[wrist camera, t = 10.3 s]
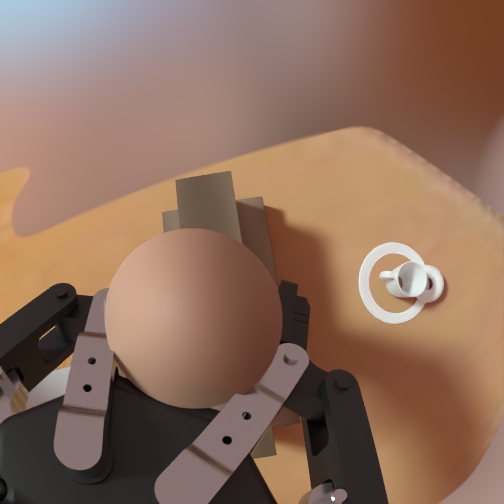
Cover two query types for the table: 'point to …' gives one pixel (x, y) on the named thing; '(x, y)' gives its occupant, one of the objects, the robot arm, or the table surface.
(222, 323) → the pink domed cylinder
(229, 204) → the ridge
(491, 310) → the table surface
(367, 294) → the teacup and saucer
